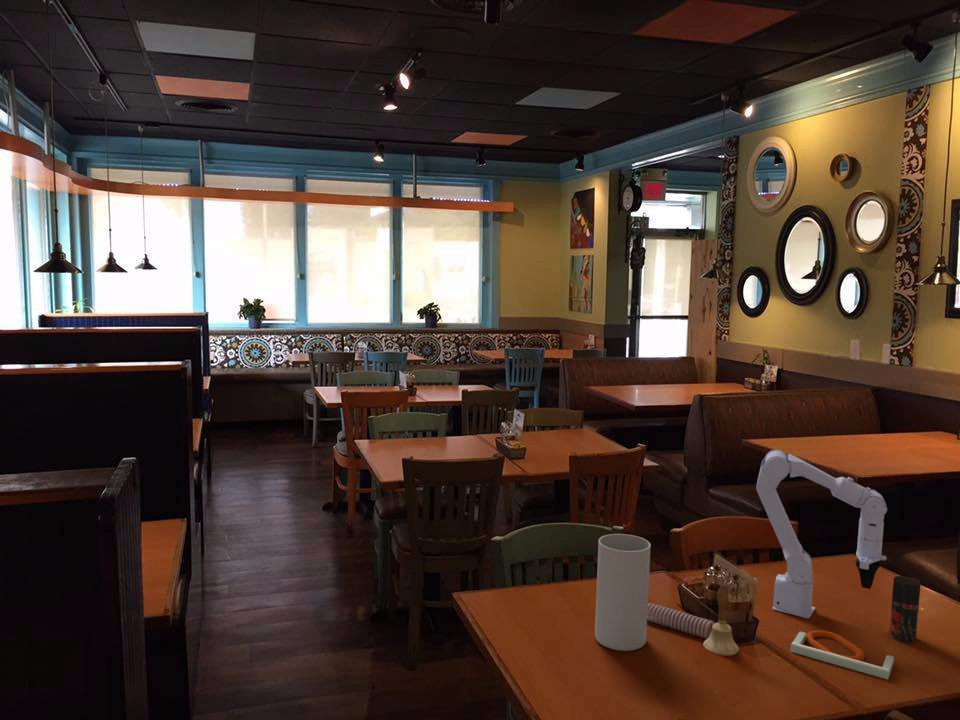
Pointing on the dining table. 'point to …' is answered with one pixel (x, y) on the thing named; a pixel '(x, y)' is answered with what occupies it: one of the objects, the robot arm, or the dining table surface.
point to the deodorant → (904, 609)
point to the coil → (679, 620)
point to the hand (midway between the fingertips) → (866, 587)
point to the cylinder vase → (622, 591)
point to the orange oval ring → (836, 637)
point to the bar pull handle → (841, 658)
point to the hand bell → (721, 629)
